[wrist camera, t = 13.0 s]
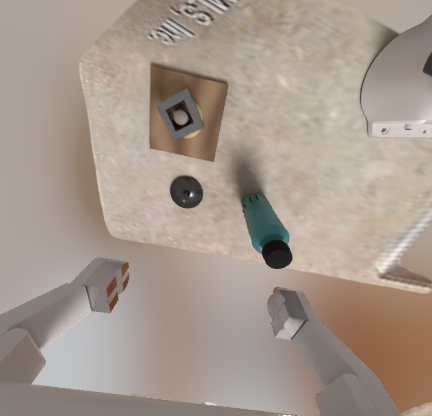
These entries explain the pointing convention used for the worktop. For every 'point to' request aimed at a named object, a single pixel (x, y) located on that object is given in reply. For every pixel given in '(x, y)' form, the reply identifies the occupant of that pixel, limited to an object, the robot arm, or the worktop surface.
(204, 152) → the brown square board
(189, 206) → the stand
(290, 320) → the robot arm
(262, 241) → the beverage bottle
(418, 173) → the worktop surface
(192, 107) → the square metal tube
